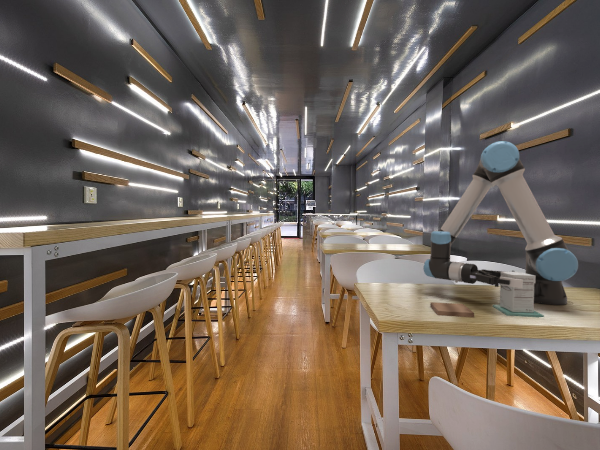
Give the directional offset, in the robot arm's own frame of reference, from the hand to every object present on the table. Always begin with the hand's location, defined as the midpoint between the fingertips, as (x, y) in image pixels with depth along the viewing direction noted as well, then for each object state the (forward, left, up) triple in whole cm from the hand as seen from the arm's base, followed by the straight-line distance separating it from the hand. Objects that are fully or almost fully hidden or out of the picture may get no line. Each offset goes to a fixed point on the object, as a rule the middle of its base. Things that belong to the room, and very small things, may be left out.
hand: (529, 281), depth 108 cm
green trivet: (+2, -2, -12) cm, 13 cm away
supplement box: (+3, -2, -10) cm, 11 cm away
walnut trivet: (+25, +1, -12) cm, 28 cm away
